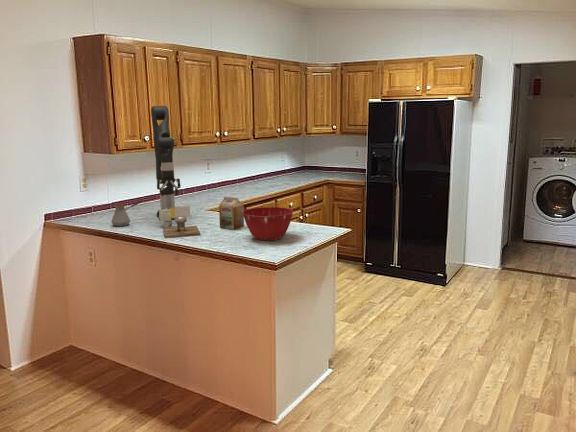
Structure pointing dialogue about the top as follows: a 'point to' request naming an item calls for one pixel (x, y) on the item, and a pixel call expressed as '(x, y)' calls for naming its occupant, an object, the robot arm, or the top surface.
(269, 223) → the mixing bowl
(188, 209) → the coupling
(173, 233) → the board
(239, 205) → the milk carton
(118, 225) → the coffee pot
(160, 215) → the pneumatic valve
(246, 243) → the top surface
